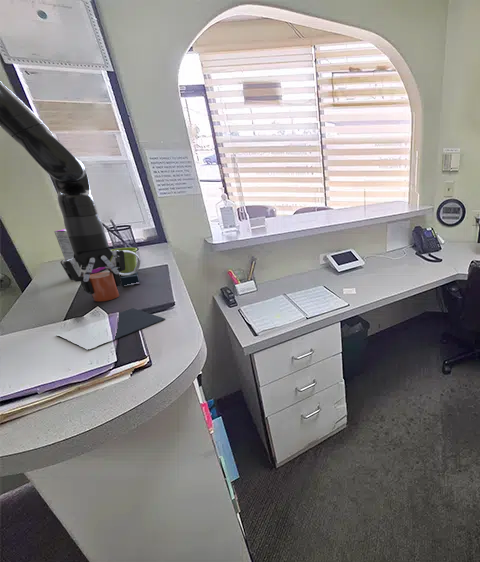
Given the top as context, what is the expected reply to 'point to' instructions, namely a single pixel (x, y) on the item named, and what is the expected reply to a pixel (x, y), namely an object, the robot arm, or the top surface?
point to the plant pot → (128, 259)
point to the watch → (130, 276)
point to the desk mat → (135, 321)
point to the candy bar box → (70, 250)
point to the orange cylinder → (103, 286)
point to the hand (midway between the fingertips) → (104, 289)
